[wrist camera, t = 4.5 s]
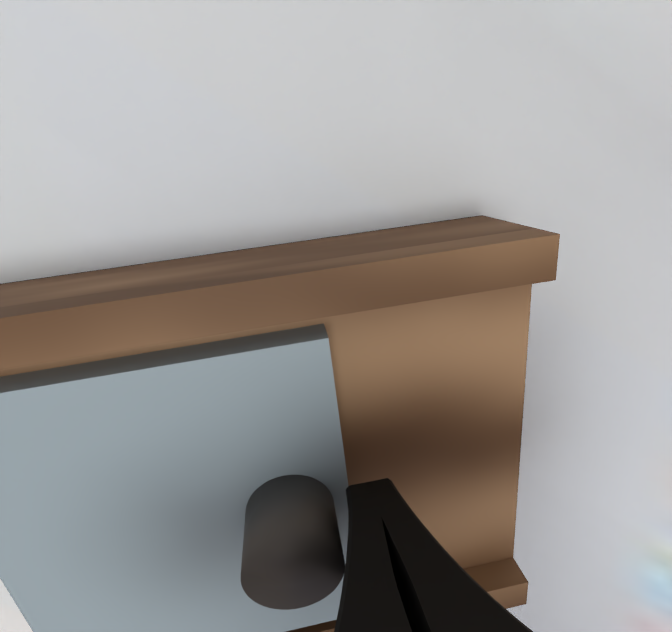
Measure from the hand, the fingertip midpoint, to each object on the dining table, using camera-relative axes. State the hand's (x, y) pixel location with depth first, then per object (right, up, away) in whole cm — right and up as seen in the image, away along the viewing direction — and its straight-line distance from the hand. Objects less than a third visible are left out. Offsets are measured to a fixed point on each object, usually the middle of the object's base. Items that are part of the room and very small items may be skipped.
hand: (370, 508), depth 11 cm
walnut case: (-3, +1, +4) cm, 5 cm away
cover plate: (-6, 0, +1) cm, 6 cm away
